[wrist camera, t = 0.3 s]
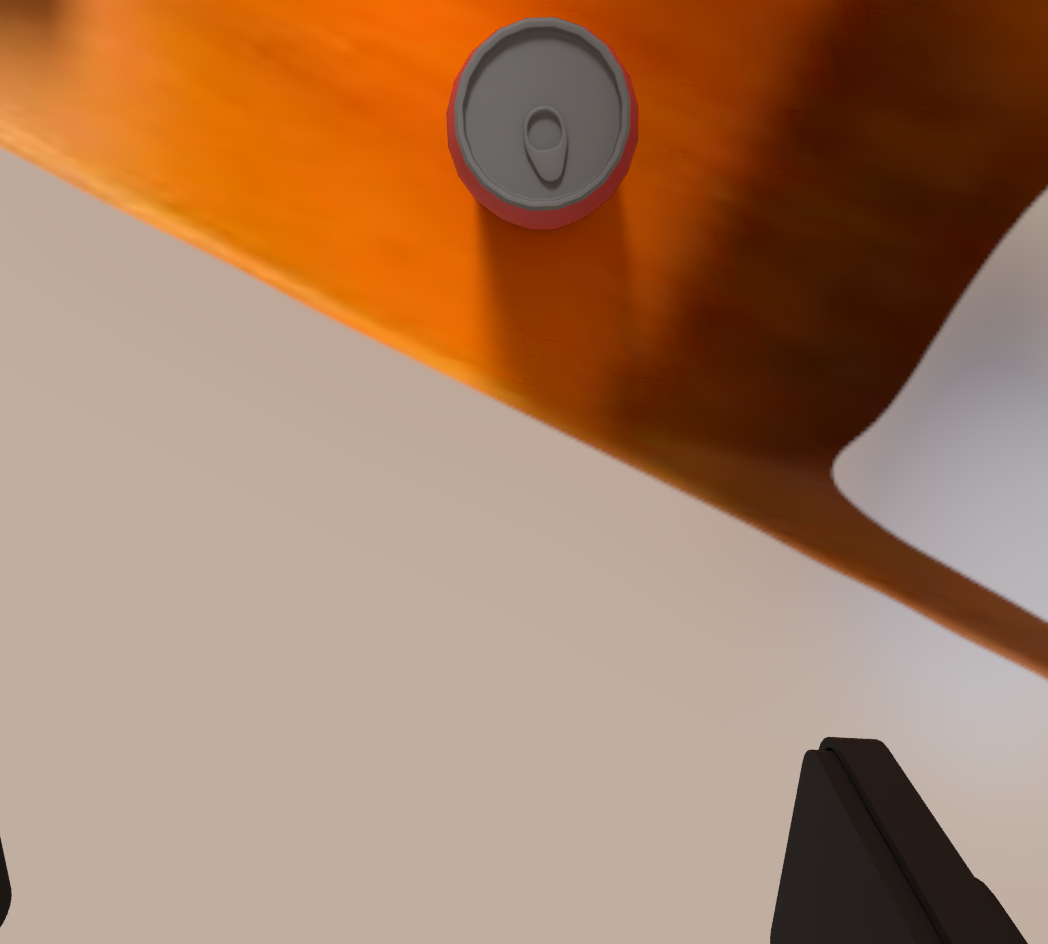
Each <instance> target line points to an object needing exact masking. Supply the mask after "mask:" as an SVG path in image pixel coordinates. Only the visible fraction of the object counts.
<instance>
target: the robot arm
mask: <svg viewBox="0 0 1048 944" xmlns="http://www.w3.org/2000/svg"><path fill="white" fill-rule="evenodd" d="M11 896H12V894H11V886H10V881H9V877H8V871H7V867H6V862H5V857H4V852H3V848H2V843H1V838H0V927H1V925H2V924H3V922H4V920H5V918H6V916H7V914H8V910H9V907H10V903H11ZM770 944H1028V943H1027V942H1026V940H1025V939H1024V938H1023V936H1022V934H1021V933H1020V932H1019V930H1018V929H1017V927H1016V926H1015V924H1014V923H1013V921H1012V920H1011V918H1010V917H1009V916H1008V914H1007V913H1006V911H1005V910H1004V908H1003V907H1002V905H1001V904H1000V902H999V901H998V899H997V898H996V897H995V896H994V894H993V893H992V892H991V891H990V890H989V888H988V887H987V886H986V885H985V884H984V883H983V882H982V881H980V880H979V879H977V878H975V877H974V876H973V874H972V873H971V871H970V870H969V868H968V867H967V865H966V864H965V862H964V861H963V859H962V858H961V856H960V855H959V853H958V852H957V850H956V849H955V847H954V846H953V844H952V843H951V841H950V840H949V839H948V837H947V836H946V834H945V833H944V831H943V830H942V828H941V827H940V825H939V824H938V822H937V821H936V819H935V818H934V816H933V815H932V813H931V812H930V810H929V809H928V807H927V806H926V804H925V803H924V801H923V800H922V798H921V797H920V795H919V794H918V792H917V791H916V789H915V788H914V786H913V785H912V783H911V782H910V780H909V779H908V778H907V776H906V775H905V773H904V772H903V770H902V769H901V767H900V766H899V764H898V763H897V762H896V760H895V758H894V757H893V755H892V754H891V752H890V751H889V749H888V748H887V747H886V746H885V745H884V743H883V742H881V741H879V740H877V739H858V738H839V737H838V738H837V737H827V738H824V740H823V741H822V742H821V744H820V747H819V750H808V751H807V752H806V753H805V755H804V759H803V763H802V768H801V773H800V779H799V784H798V789H797V795H796V800H795V806H794V811H793V816H792V821H791V827H790V832H789V837H788V843H787V848H786V854H785V859H784V864H783V869H782V875H781V880H780V885H779V891H778V896H777V901H776V907H775V912H774V918H773V923H772V928H771V936H770Z"/></svg>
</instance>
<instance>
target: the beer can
mask: <svg viewBox="0 0 1048 944" xmlns="http://www.w3.org/2000/svg"><path fill="white" fill-rule="evenodd" d="M446 114H447V134H448V147H449V150H450V153H451V156H452V159H453V161H454V164H455V167H456V170H457V173H458V176H459V177H460V179H461V180H462V181H463V183H464V184H465V186H466V187H467V188H468V190H469V191H470V192H471V194H472V195H473V196H474V198H475V199H476V201H477V202H479V203H480V204H481V205H483V206H484V207H486V208H487V209H488V210H490V211H491V212H492V213H494V214H495V215H497V216H498V217H499V218H501V219H503V220H505V221H507V222H510V223H512V224H515V225H519V226H522V227H525V228H528V229H531V230H549V229H557V228H560V227H562V226H565V225H568V224H570V223H573V222H576V221H578V220H580V219H582V218H584V217H586V216H588V215H589V214H590V213H591V212H593V211H594V210H595V209H597V208H598V207H599V206H600V205H602V204H603V203H604V202H605V201H607V200H608V199H609V198H610V197H611V196H612V194H613V193H614V191H615V190H616V188H617V187H618V185H619V184H620V182H621V181H622V180H623V178H624V177H625V175H626V174H627V172H628V170H629V166H630V163H631V160H632V157H633V154H634V151H635V148H636V144H637V141H638V104H637V101H636V97H635V94H634V90H633V87H632V83H631V79H630V76H629V74H628V73H627V71H626V70H625V68H624V66H623V65H622V63H621V62H620V60H619V59H618V57H617V56H616V54H615V53H614V51H613V50H612V48H611V47H610V46H609V45H607V44H606V43H605V42H604V41H602V40H601V39H600V38H598V37H597V36H596V35H595V34H593V33H592V32H591V31H590V30H588V29H587V28H586V27H583V26H580V25H577V24H574V23H571V22H568V21H565V20H562V19H559V18H556V17H545V18H525V19H523V20H520V21H518V22H515V23H513V24H510V25H508V26H505V27H503V28H500V29H498V30H496V31H495V32H494V33H493V34H492V35H490V36H489V37H488V38H487V39H486V40H485V41H484V42H482V43H481V44H480V45H479V46H478V47H477V48H476V49H474V50H473V51H472V52H471V54H470V55H469V57H468V59H467V60H466V62H465V64H464V66H463V67H462V69H461V71H460V72H459V74H458V76H457V77H456V79H455V81H454V84H453V88H452V93H451V97H450V101H449V105H448V109H447V113H446Z"/></svg>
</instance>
